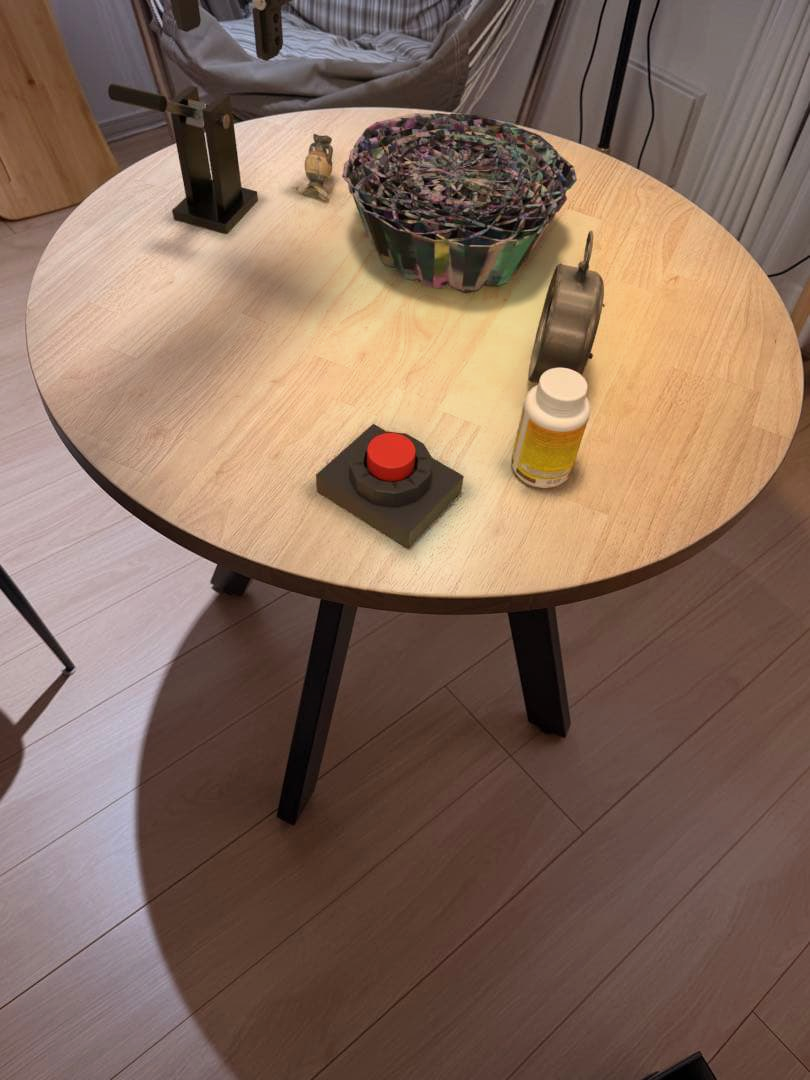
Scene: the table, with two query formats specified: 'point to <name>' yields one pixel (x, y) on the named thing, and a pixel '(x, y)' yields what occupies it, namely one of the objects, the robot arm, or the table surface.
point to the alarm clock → (568, 318)
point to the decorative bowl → (455, 196)
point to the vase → (318, 165)
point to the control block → (390, 489)
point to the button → (391, 457)
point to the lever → (158, 103)
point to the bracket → (205, 197)
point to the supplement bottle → (551, 428)
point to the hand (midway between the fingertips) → (228, 42)
